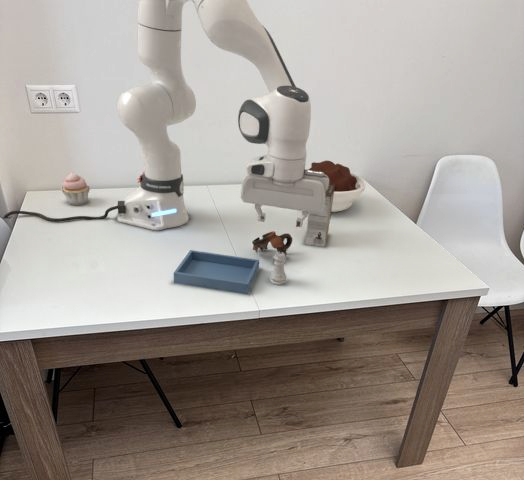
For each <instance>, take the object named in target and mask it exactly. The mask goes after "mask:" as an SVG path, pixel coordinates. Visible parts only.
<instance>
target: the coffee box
mask: <svg viewBox="0 0 524 480" xmlns="http://www.w3.org/2000/svg"><path fill="white" fill-rule="evenodd" d="M334 189H335V185H329V187H328V190H327V191H326V192H325V205H324V209H323V211H322V212H320V213H313V212H309V213H308V216H307V222H306V231H305V238H304V239H305V241H304V244H305V245H308V246H314V247H322V248H324V247H326V244H327V240H328V236H329V230H330V229H329V228H330V223H331V215H332V212H331V209H332V203H333V195H334Z"/></svg>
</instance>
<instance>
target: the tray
mask: <svg viewBox="0 0 524 480" xmlns="http://www.w3.org/2000/svg"><path fill="white" fill-rule="evenodd" d="M259 270H260V259H256V258H248V257H243V256H242V257H241V256H236V255H235V256H234V255H227V254H220V253H213V252H206V251H201V250H200V251H199V250H193V249H190V250H188V252H187V254H186V255H185V257H184V258H183V259H182V260H181V262H180V263H179V265H178V266H177V267H176V269H175V270H174V271H173V283H174V284H177V285H185V286H191V287H197V288H203V289H204V288H205V289H210V290H217V291H223V292H229V293H236V294H243V295H249V292H250V291H251V289H252V286H253V284H254V282H255V279H256V277H257V275H258V273H259Z"/></svg>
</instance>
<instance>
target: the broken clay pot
mask: <svg viewBox="0 0 524 480" xmlns="http://www.w3.org/2000/svg"><path fill="white" fill-rule="evenodd" d="M261 237H262V238H260V236H257V237H256V238H255V239H253V240H252V242H251V244H252V250H253V251H255V253H258V251H259V250H260V251H265V250H268V249H269V247H268V245H269V243H270V245H271V247H272V248H273V249H276V250H277V253H278V252H280V253H281V254H282V252H283V253H285V256H286V257H287V250H288V249H289V248H290V247H291V245H292V244H293V237H292V235H291V234H290V233H282V234H280V235H278V234H277V233H276V231H269V232H267V233H264V234H263V235H262V236H261ZM285 239H286V242H284V241H285ZM273 261H275V259H274V258H273Z"/></svg>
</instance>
